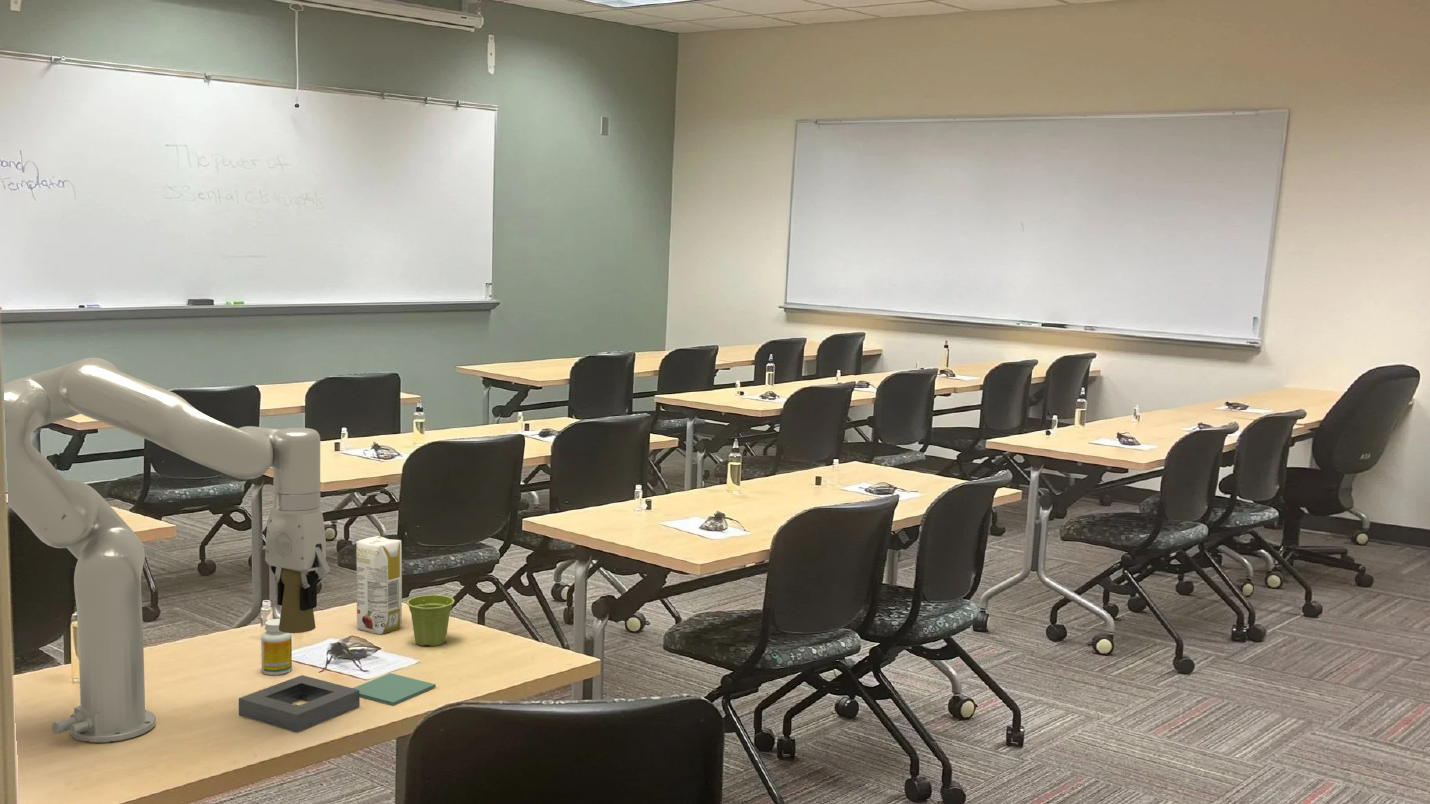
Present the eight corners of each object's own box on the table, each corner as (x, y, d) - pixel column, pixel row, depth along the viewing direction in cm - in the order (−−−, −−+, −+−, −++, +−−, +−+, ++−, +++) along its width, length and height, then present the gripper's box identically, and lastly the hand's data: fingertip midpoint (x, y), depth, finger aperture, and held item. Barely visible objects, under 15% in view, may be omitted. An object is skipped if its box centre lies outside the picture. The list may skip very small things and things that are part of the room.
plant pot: (463, 642, 254) (463, 601, 253) (425, 652, 247) (425, 610, 246) (435, 632, 260) (436, 592, 259) (397, 642, 253) (397, 600, 252)
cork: (322, 628, 213) (322, 565, 212) (289, 635, 209) (289, 571, 207) (304, 620, 217) (304, 558, 216) (272, 627, 213) (271, 564, 211)
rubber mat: (393, 705, 218) (393, 702, 218) (347, 693, 224) (347, 690, 224) (435, 687, 228) (435, 684, 228) (390, 676, 233) (390, 672, 233)
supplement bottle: (257, 669, 235) (256, 620, 233) (285, 664, 238) (285, 615, 237) (267, 677, 230) (267, 627, 229) (296, 672, 234) (295, 622, 233)
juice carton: (380, 636, 256) (380, 546, 254) (351, 629, 261) (350, 540, 258) (407, 627, 263) (407, 539, 261) (377, 620, 267) (377, 534, 265)
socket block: (297, 732, 205) (297, 714, 205) (238, 715, 212) (238, 698, 212) (359, 706, 217) (359, 690, 217) (302, 691, 224) (301, 674, 224)
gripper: (244, 498, 211) (244, 602, 213) (316, 511, 203) (316, 620, 205) (279, 491, 218) (279, 593, 220) (350, 504, 209) (349, 609, 212)
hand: (297, 605), depth 212 cm, fingers closed on cork, 4 cm apart
